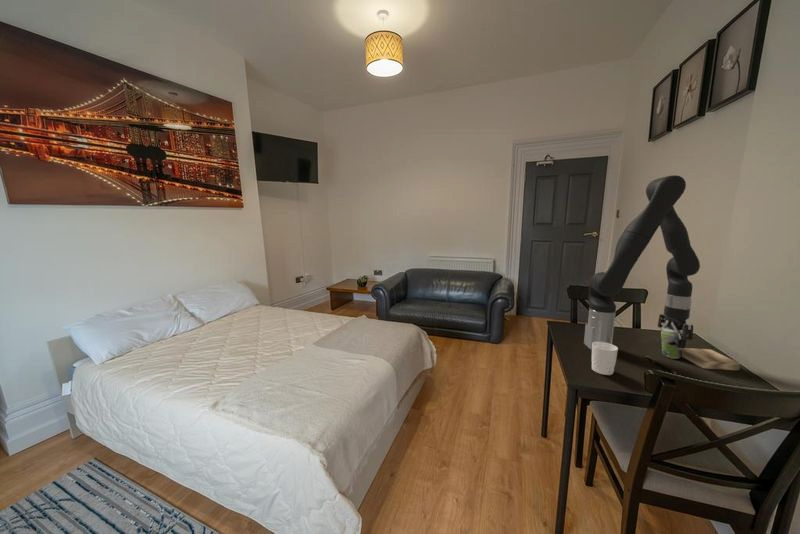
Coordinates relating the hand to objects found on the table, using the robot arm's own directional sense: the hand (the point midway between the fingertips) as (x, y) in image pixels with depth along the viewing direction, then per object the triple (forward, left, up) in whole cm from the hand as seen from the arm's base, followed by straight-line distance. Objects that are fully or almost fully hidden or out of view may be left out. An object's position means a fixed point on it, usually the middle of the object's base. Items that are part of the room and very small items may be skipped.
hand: (672, 343), depth 116 cm
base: (+11, -3, -6) cm, 13 cm away
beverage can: (0, 0, -6) cm, 6 cm away
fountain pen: (-10, -9, -6) cm, 15 cm away
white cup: (-34, -16, -6) cm, 38 cm away
